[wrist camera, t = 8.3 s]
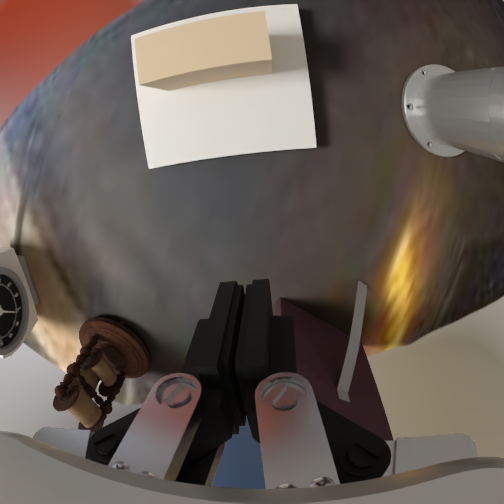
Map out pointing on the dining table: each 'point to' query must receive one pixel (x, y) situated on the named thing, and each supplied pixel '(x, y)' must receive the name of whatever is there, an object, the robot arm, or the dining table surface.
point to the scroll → (100, 370)
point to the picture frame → (338, 366)
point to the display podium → (233, 102)
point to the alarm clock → (15, 301)
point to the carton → (205, 52)
